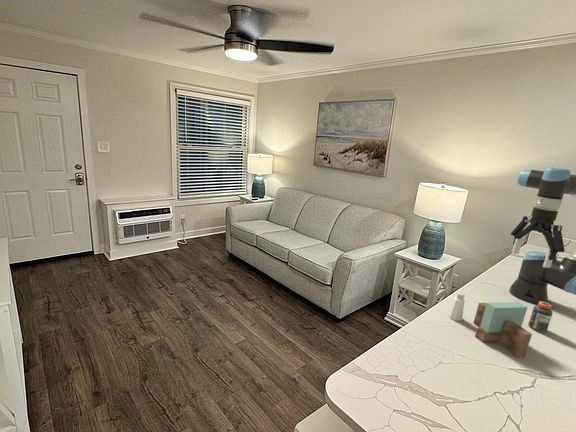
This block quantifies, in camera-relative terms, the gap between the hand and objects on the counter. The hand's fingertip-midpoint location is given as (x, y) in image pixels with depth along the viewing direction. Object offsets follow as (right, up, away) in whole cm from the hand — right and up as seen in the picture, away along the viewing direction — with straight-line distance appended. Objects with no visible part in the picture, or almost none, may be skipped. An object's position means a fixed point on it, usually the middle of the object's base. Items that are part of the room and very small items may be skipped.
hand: (529, 260), depth 124 cm
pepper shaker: (-28, -24, +3) cm, 37 cm away
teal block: (-18, -24, -9) cm, 32 cm away
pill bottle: (+4, -28, +1) cm, 28 cm away
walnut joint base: (-19, -28, -9) cm, 35 cm away
